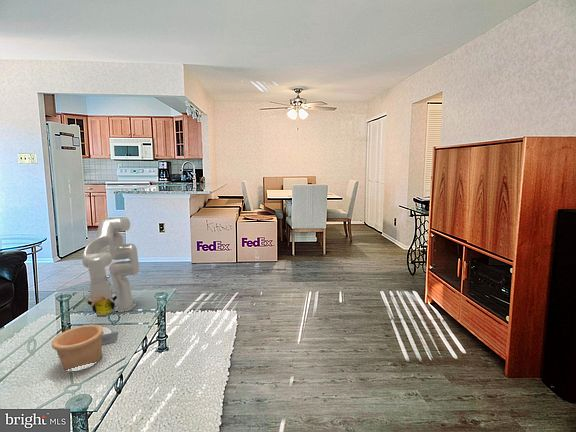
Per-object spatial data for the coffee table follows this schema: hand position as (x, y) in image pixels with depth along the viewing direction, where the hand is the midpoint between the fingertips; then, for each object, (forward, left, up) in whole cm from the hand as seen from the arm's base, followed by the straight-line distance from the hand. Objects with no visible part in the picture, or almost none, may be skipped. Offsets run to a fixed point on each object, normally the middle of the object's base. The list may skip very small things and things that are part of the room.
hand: (104, 310), depth 195 cm
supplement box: (0, 0, -3) cm, 3 cm away
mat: (0, -6, -17) cm, 18 cm away
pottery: (+19, -10, -17) cm, 28 cm away
